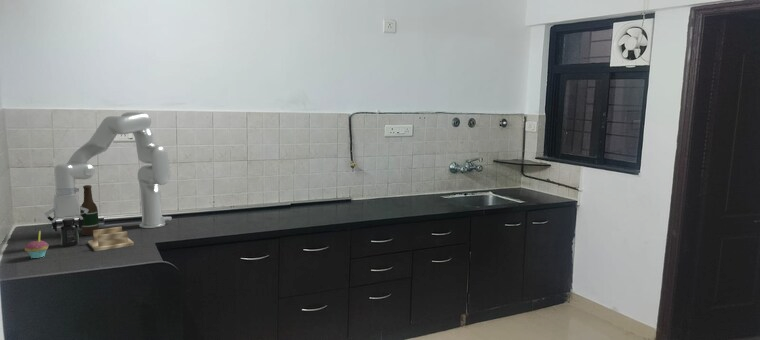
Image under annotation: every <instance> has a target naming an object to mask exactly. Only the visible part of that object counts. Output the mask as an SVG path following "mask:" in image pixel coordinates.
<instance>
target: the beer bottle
mask: <svg viewBox="0 0 760 340" xmlns="http://www.w3.org/2000/svg"><path fill="white" fill-rule="evenodd" d="M82 188H83V201H82V204H81V205H80V206H81V207H84V208H87V209H88V210H89V211H88V213H87V215H86V216H85V217H84V218H83V220H82V221H83V226H81V229H80V230H81V234H82V236H84V235H86V236H87V237H89V236H93V230H100V224H99V209H98V206H97V204H96V203H95V202H94V198H93V193H92V185H90V184H86V185H83V186H82ZM83 213H84V210H81V209H80V215H82V214H83Z"/></svg>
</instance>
